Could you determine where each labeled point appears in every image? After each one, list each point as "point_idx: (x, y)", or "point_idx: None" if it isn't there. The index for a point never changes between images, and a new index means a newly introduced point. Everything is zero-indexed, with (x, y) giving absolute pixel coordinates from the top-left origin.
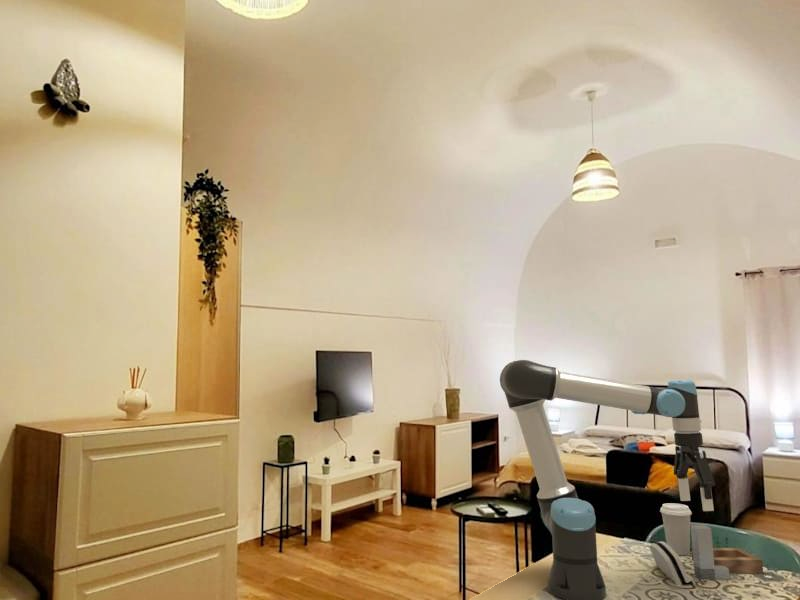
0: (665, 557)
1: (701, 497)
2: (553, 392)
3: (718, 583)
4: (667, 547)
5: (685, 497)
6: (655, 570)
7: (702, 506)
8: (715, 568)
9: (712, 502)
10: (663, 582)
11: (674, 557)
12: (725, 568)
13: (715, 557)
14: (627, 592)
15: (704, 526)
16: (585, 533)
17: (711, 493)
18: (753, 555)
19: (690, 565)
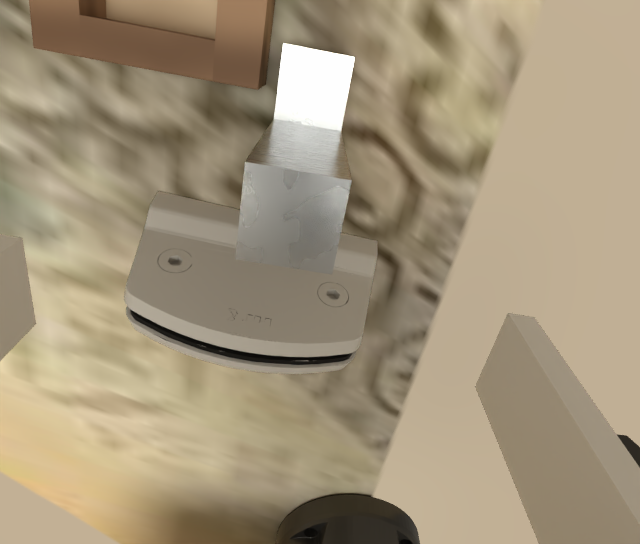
0: (331, 370)
1: (523, 495)
2: None
3: (380, 141)
4: (283, 352)
5: (8, 305)
6: None
7: (487, 414)
8: (339, 124)
9: (571, 375)
10: None
11: (354, 350)
12: (349, 73)
13: (217, 26)
14: (380, 451)
15: (284, 187)
16: None
17: (632, 463)
18: None
19: (142, 105)
